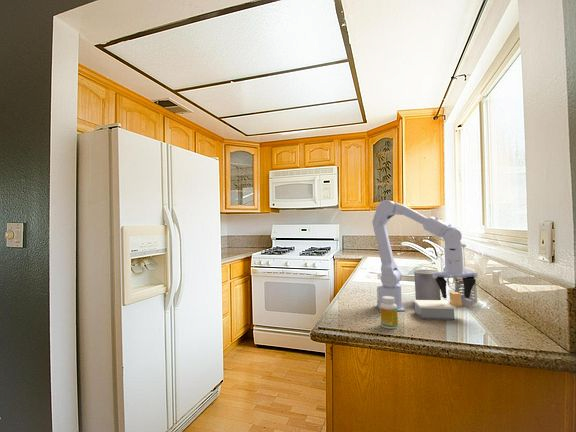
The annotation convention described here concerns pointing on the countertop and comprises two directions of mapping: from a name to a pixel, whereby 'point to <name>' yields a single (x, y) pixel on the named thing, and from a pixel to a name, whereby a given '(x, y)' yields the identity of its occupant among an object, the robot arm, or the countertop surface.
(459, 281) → the french press
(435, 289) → the pillar candle
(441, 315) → the tub
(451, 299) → the lid
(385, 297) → the supplement bottle
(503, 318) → the countertop surface
